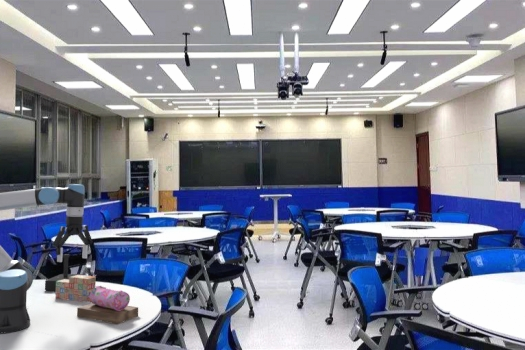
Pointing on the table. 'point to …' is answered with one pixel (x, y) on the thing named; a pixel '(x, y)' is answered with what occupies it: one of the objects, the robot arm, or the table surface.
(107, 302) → the pencil case
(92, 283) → the stack of blocks
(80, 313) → the walnut riser
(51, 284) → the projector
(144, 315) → the table surface
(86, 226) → the robot arm
